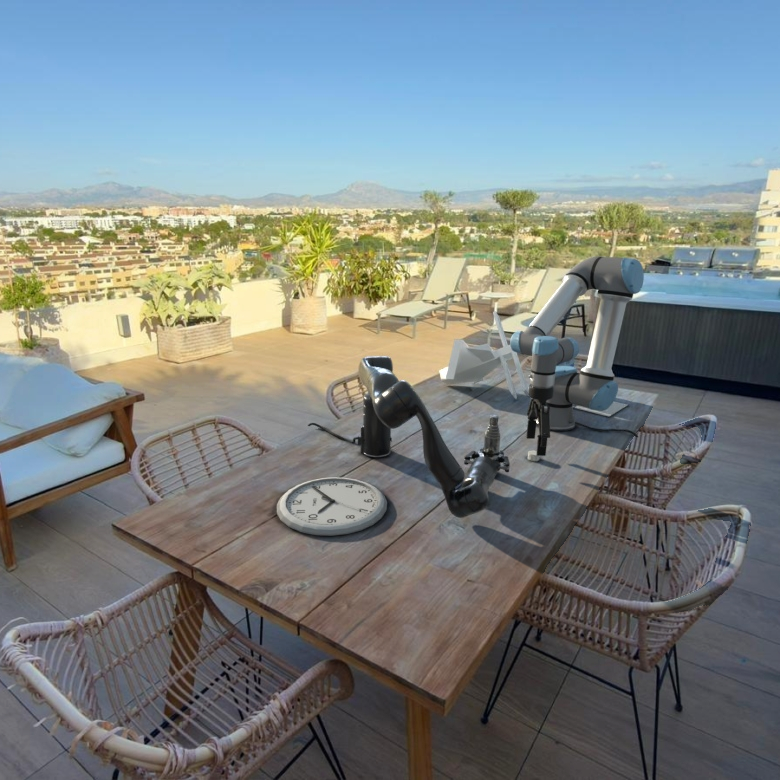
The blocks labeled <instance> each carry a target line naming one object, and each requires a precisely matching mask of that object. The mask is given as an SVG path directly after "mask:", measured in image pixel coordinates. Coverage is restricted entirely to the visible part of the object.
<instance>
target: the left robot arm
mask: <svg viewBox="0 0 780 780" xmlns="http://www.w3.org/2000/svg"><path fill="white" fill-rule="evenodd" d="M357 369H358V370H357V371H358V376H359V380H360V382H361V384H362V385H363V386H364V387H365V388H366V394H364V395H363V397H362V412H363V413H362V414H363V416H362V425H361V427H360V434H359V435H358V436H355V437H353V438H352V440H350V439H347V438H345V437H343V436H341V435H340V434H337V433H336V432H333V431H331V430H330V429H329V428H327V427H325V426H322V425H320V424H318V423H317V422H310V423H308V424H307V427H311V426H315V427H317V428H319V429H321V430H324V431H326V432H327V433H329V434H330V435H332V436H334V437H336V438H338V439H340V440H342V441H345V442H348V443H351V444H355V443H356V441H357V445H358V446H360V454H363V456H366V457H369V458H374V459H381V458H385V457H388V456H389V455H390V454H391V451H392V450H391V449H392V447H391V444H392V442H393V441H392V436H391V435H392V432H391V431H392V430H394V429H397V428H400V427H401V426H403V425H405V424H406V423H407V422H409V421H410V420H411V419H413V417H416V418H417V420H418V422H419V424H420V428H421V433H422V450H423V451H422V453H423V459H424V462H425V465H426V467H427V469H428V470H429V472H430V473H431V475H432V476H433V478H434V479H435V480H436V482H437V484H439V486H440V489H441V491H442V493H443V497H444V499H445V501H446V505H447V508H448V511H449V512H450V513H451V514H452V515H453V516H454V517H455V518H458V519H464V518H467V517H469V516H472V515H474V514H477V513H479V512H482V511H484V510H485V509H486V508H487V507H488V506H489V504H490V499H489V489H490V487H491V486H492V484H493V483H494V481H495V477H496V476H497V475H496V473H497V474H498V472H499V471H500V470H503V471H504V472H506V473H509V472H510V466H511V465H510V459H509V456H508V455H505V451H504V450H502V449H499V454H498V455H497V456H496V455H495V456H493V457H492V458H489V457H486V456H484V455H483V453H484V446H483V447H482V448H480V449H479V450H478V451H476V450H471V451H470V452H469V453H467V454H466V455H464V459H463V465H465V466H468V465H470V466H469V468H468V469H467V472H466V475H465V471H464V470H463V468H462V466H461V465H460V464H459V462H458V461H457V459H456V458H455V456H454V455H453V453H452V452H451V451H450V449H449V447H448V446H447V444H446V443H445V441H444V439H443V437H442V435H441V433H440V431H439V429H438V427H437V425H436V423H435V421H434V420H433V418H432V415H431V414H430V412H429V411H428V409H427V407H426V406H425V404H424V402H423V401H422V398H421V396H420V395H419V393H418V392H417V391H416V389H415V388H414V387H413V386H412V384H410V383H409V382H408V381H406V380H404V379H401V380H399V378H398V377H397V375H396V374H395V373H394V363H393V360H392V358H391V357H390V356H389V355H388V356H387V355H386V356H385V355H384V356H383V355H382V356H378V355H377V356H376V355H375V356H364V357H362V358H361V359H360V360H359V364H358V368H357ZM460 484H461V488H459V489H457V487H458V486H459V485H460Z"/></svg>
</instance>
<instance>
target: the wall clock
mask: <svg viewBox="0 0 780 780" xmlns="http://www.w3.org/2000/svg"><path fill="white" fill-rule="evenodd" d="M387 509H388V500H387V498H386V496H385V494H384V493H383V492H382V491H381V490H380V489H379V488H377V487H376V486H374V485H372V484H371V483H369V482H365V481H362V480H359V479H355V478H349V477H338V476H337V477H335V476H333V477H332V476H331V477H322V478H317V479H312V480H307V481H305V482H302V483H299V484H297V485H295V486H293V487H292V488H290V489H288V490H287V491H286V492H285V493H284V494H283V495H281V496H280V498H279V499H278V502H277V503H276V515H277V517H278V518H279V520H280V521H281V522H282V523H283V524H285V525H286V526H287V527H288V528H290V529H293V530H295V531H297V532H299V533H303V534H308V535H312V536H327V537H328V536H329V537H331V536H332V537H333V536H342V535H350V534H352V533H356V532H361V531H363V530H366V529H368V528H369V527H372V526H373V525H375V524H376V523H378V522H379V521H380V520H381V519H382V518H383V517H384V516H385V514H386V512H387Z"/></svg>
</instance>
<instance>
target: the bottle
mask: <svg viewBox="0 0 780 780" xmlns="http://www.w3.org/2000/svg"><path fill="white" fill-rule="evenodd" d="M499 419H500V416H499V415H498V414H490V415H489V423H488V424H487V428H486V430H485V432H484V433H485V434H484V443H483V447H484V453H483V455H484V456H486V457H489V458H492V457H493V456H495V455H496V456H497V455H498V454H499V452H500V446H501V430H500V427H499V426H500V425H499ZM497 475H498V472H497V473H496V476H497Z"/></svg>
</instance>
